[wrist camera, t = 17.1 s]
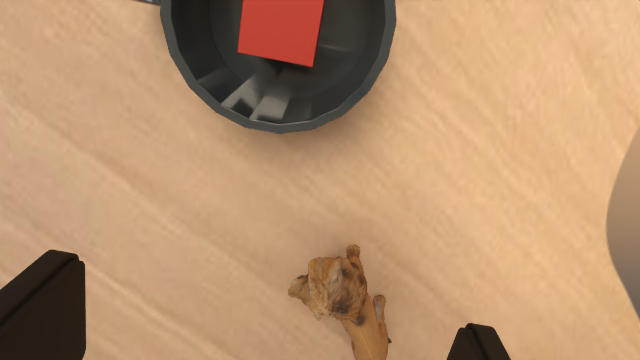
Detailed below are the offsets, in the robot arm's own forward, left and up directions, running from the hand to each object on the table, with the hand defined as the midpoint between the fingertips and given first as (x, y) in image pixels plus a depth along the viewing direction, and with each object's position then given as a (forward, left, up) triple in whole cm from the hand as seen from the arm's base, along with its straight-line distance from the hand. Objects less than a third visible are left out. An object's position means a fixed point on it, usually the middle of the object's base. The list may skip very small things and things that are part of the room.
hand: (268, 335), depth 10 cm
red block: (+2, -7, -24) cm, 25 cm away
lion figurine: (-7, +15, -25) cm, 30 cm away
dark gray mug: (+4, -7, -25) cm, 26 cm away
